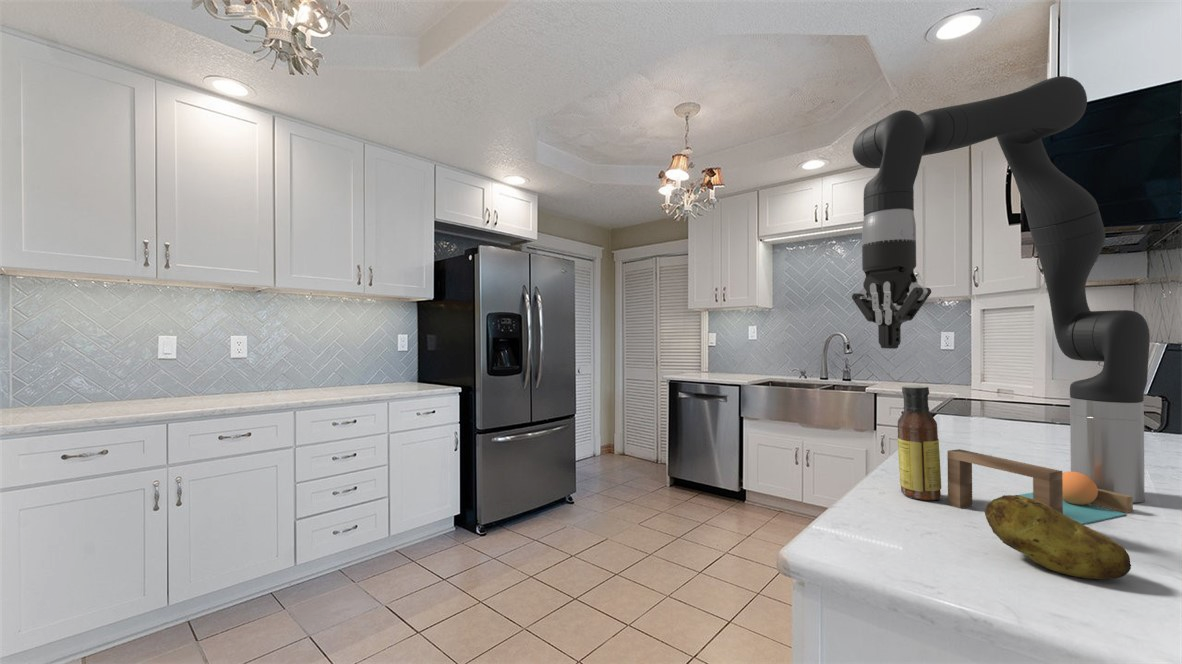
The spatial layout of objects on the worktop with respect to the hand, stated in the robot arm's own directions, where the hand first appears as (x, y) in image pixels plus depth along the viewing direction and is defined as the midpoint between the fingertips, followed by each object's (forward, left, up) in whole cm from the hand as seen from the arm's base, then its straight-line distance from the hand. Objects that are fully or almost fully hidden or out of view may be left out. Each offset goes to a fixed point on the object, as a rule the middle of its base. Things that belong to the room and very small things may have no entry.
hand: (889, 348), depth 80 cm
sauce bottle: (-13, -5, -27) cm, 31 cm away
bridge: (-15, +7, -27) cm, 32 cm away
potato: (-3, +20, -27) cm, 34 cm away
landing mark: (-29, +7, -27) cm, 40 cm away
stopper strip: (-37, +7, -27) cm, 47 cm away
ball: (-34, +7, -24) cm, 42 cm away
